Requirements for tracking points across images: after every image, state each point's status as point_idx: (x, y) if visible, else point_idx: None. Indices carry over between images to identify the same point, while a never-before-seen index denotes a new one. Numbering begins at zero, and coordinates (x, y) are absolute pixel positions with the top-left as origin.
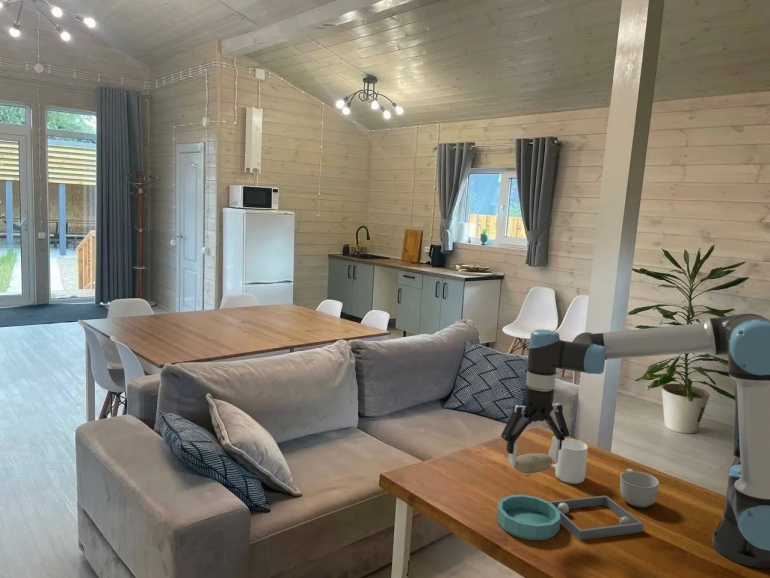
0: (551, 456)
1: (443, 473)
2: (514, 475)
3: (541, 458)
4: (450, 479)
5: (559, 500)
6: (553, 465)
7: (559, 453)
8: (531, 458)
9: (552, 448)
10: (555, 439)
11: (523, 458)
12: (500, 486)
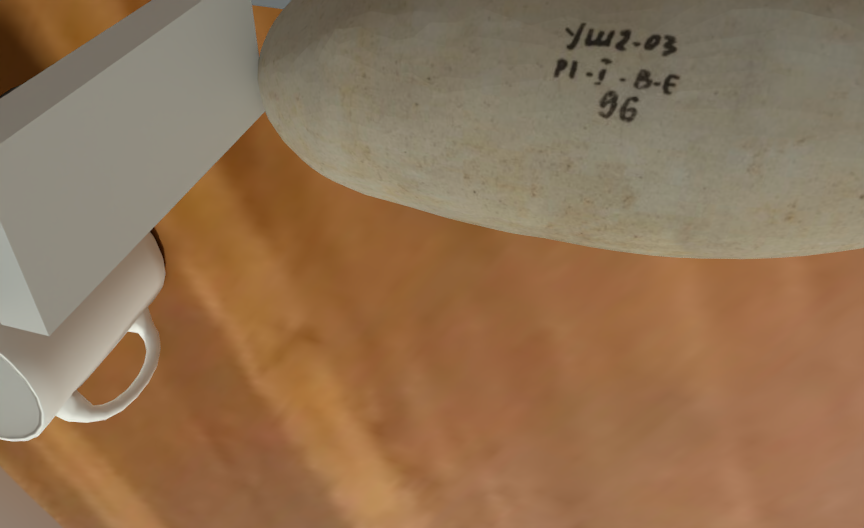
0: (240, 105)
1: (751, 510)
2: (376, 359)
3: (488, 28)
4: (761, 460)
5: (278, 6)
6: (145, 330)
7: (77, 359)
8: (697, 76)
9: (168, 166)
10: (15, 225)
11: (860, 129)
12: (522, 311)
